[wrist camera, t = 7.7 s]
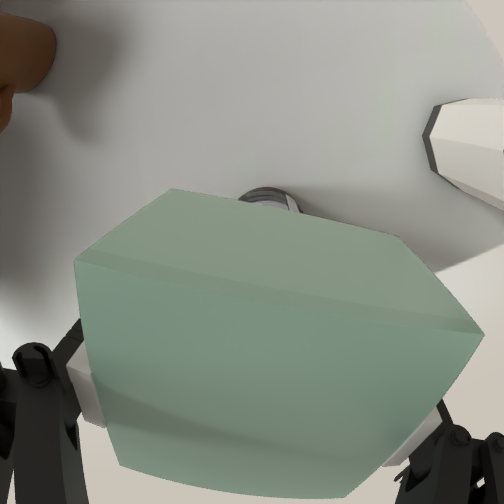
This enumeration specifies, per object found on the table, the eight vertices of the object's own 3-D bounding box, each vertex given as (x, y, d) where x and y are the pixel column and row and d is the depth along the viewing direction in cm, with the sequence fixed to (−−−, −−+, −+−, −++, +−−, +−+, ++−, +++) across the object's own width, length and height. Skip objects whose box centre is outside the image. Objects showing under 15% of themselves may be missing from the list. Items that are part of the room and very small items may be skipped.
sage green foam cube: (161, 362, 15) (119, 465, 9) (171, 188, 11) (73, 259, 5) (329, 391, 15) (343, 498, 9) (398, 236, 11) (485, 334, 5)
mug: (69, 113, 22) (-4, 120, 13) (19, 143, 23) (-49, 160, 14) (56, 11, 17) (-7, -9, 9) (7, 47, 18) (-55, 43, 10)
